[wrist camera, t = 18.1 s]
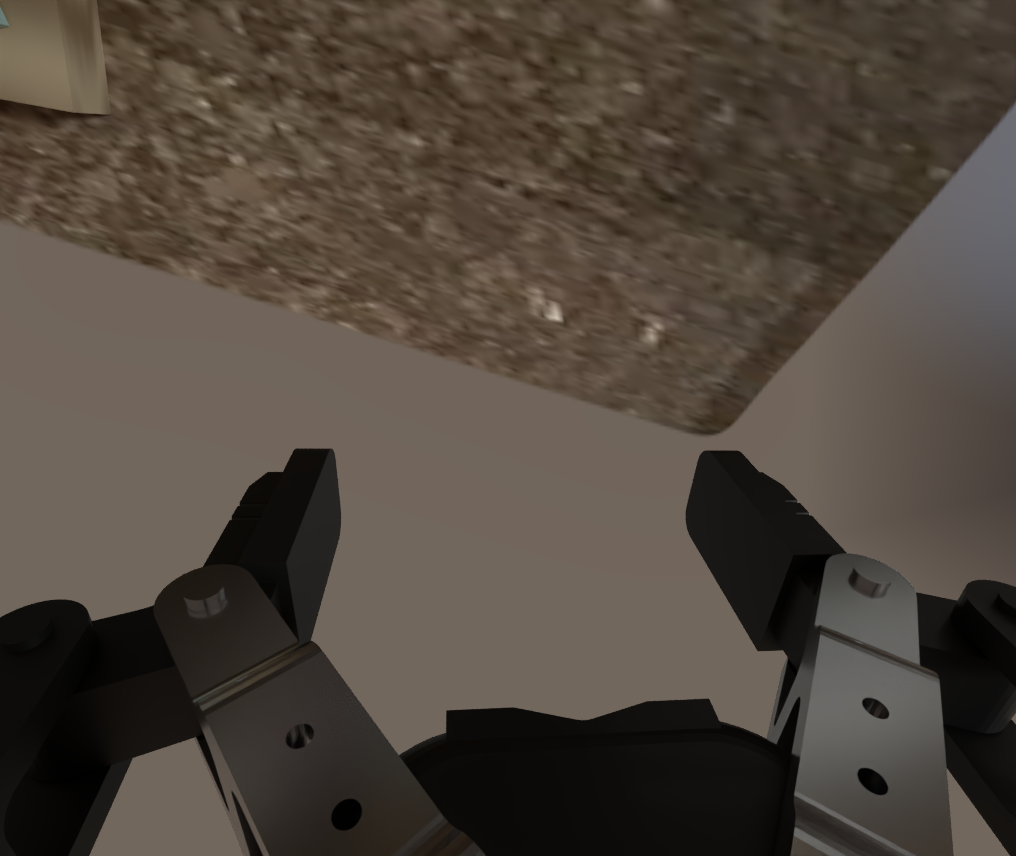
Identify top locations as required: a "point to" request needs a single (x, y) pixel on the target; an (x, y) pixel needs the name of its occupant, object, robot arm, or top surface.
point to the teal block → (3, 19)
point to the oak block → (53, 55)
